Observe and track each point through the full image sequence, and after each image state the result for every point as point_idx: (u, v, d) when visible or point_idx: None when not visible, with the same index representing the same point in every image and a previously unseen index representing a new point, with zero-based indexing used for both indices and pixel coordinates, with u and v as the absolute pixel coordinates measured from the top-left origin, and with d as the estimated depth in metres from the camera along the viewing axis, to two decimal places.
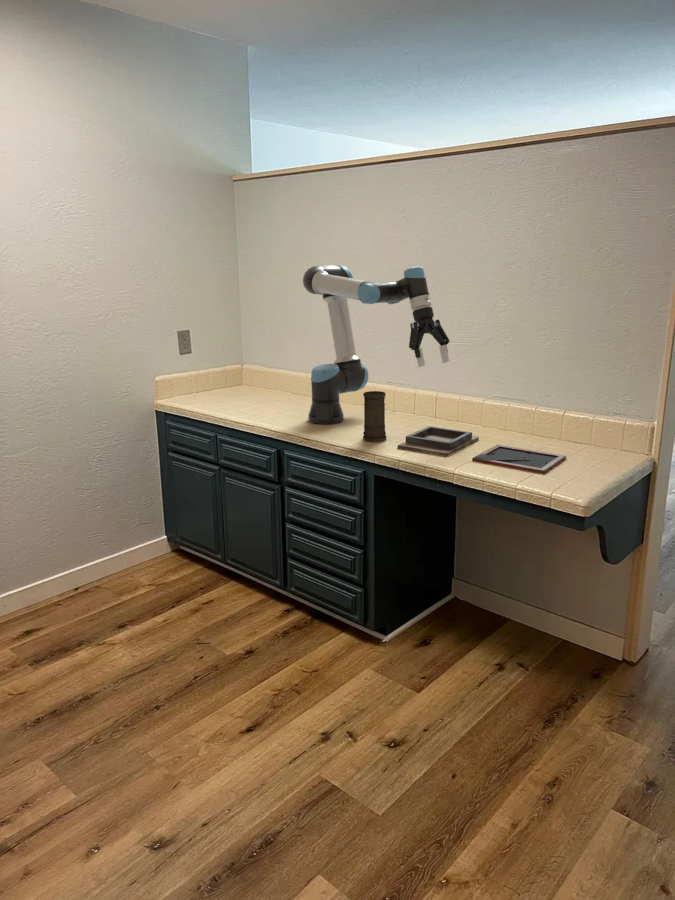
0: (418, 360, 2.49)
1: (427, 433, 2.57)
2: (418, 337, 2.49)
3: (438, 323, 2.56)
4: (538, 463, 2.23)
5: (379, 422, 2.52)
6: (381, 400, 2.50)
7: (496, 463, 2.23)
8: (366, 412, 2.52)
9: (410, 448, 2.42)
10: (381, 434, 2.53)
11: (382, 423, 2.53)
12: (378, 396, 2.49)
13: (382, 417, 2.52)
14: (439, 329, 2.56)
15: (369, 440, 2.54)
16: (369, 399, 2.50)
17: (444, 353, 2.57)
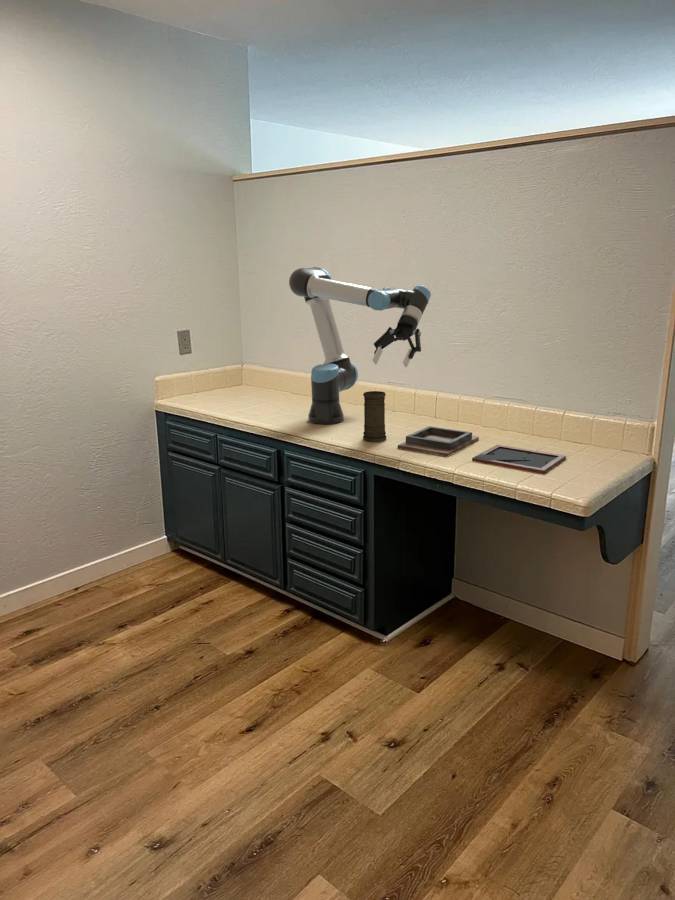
0: (407, 358, 2.54)
1: (427, 433, 2.57)
2: None
3: None
4: (538, 463, 2.23)
5: (379, 422, 2.52)
6: (381, 400, 2.50)
7: (496, 463, 2.23)
8: (366, 412, 2.52)
9: (410, 448, 2.42)
10: (381, 434, 2.53)
11: (382, 423, 2.53)
12: (378, 396, 2.49)
13: (382, 417, 2.52)
14: (388, 337, 2.67)
15: (369, 440, 2.54)
16: (369, 399, 2.50)
17: (379, 355, 2.63)
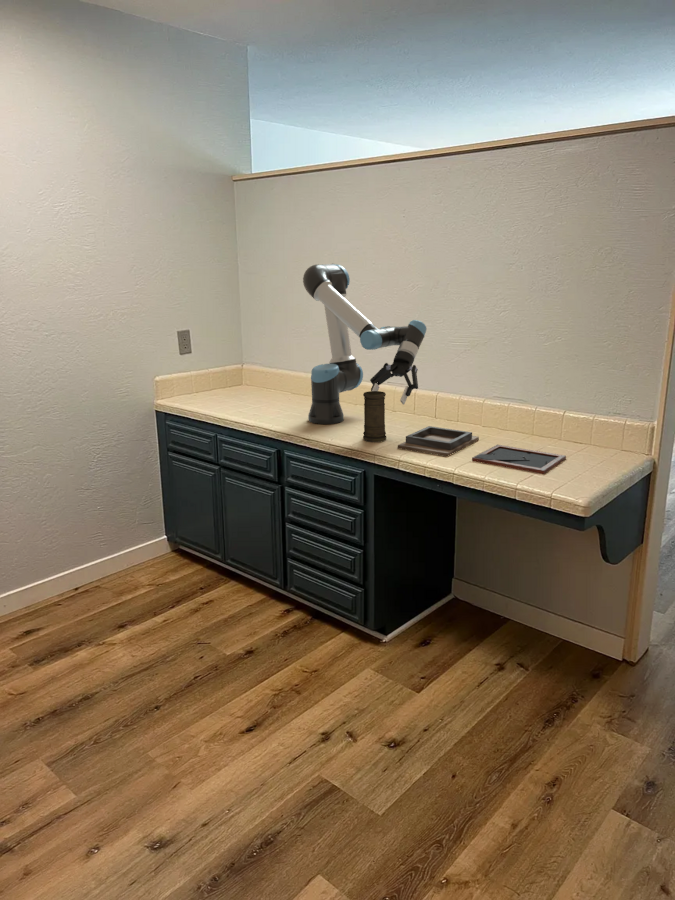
0: (404, 396, 2.53)
1: (427, 433, 2.57)
2: (409, 379, 2.58)
3: None
4: (538, 463, 2.23)
5: (379, 422, 2.52)
6: (381, 400, 2.50)
7: (496, 463, 2.23)
8: (366, 412, 2.52)
9: (410, 448, 2.42)
10: (381, 434, 2.53)
11: (382, 423, 2.53)
12: (378, 396, 2.49)
13: (382, 417, 2.52)
14: (384, 373, 2.65)
15: (369, 440, 2.54)
16: (369, 399, 2.50)
17: None
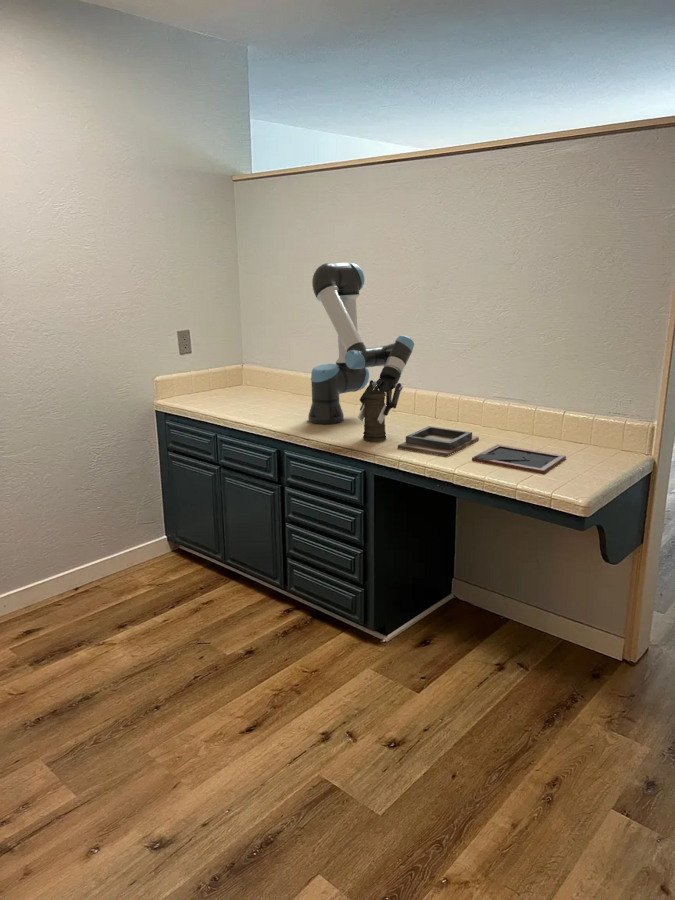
0: (382, 415, 2.50)
1: (427, 433, 2.57)
2: (390, 397, 2.54)
3: None
4: (538, 463, 2.23)
5: None
6: (381, 400, 2.50)
7: (496, 463, 2.23)
8: (366, 412, 2.52)
9: (410, 448, 2.42)
10: (381, 434, 2.53)
11: (382, 423, 2.53)
12: (378, 396, 2.49)
13: None
14: (371, 390, 2.61)
15: (369, 440, 2.54)
16: (369, 399, 2.50)
17: None
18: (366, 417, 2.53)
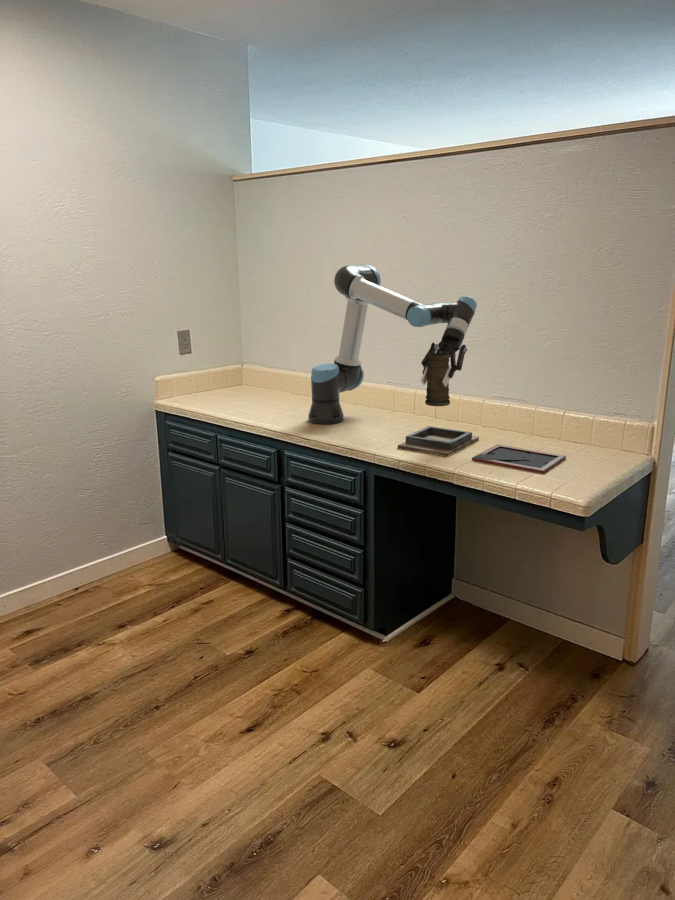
0: (446, 378, 2.38)
1: (427, 433, 2.57)
2: (454, 359, 2.42)
3: None
4: (538, 463, 2.23)
5: (443, 385, 2.40)
6: (446, 362, 2.38)
7: (496, 463, 2.23)
8: (430, 375, 2.40)
9: (410, 448, 2.42)
10: (445, 398, 2.41)
11: None
12: (443, 357, 2.37)
13: None
14: None
15: (433, 404, 2.42)
16: (433, 361, 2.38)
17: None
18: (429, 380, 2.41)
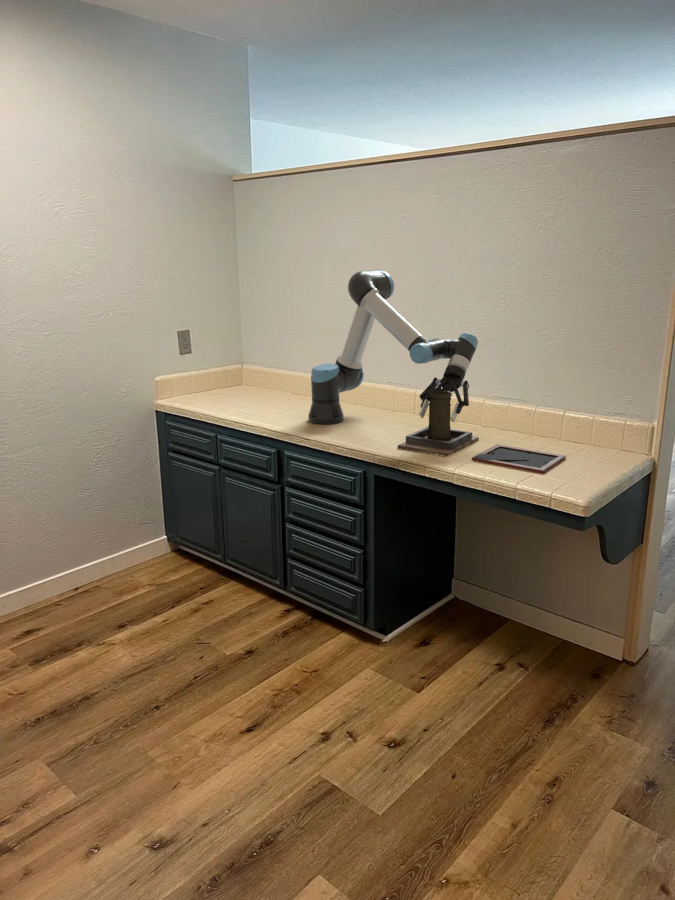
0: (454, 413, 2.41)
1: (427, 433, 2.57)
2: (459, 395, 2.46)
3: None
4: (537, 463, 2.23)
5: (445, 423, 2.44)
6: (448, 400, 2.42)
7: (495, 463, 2.24)
8: (431, 413, 2.44)
9: (410, 448, 2.42)
10: (447, 436, 2.45)
11: (448, 424, 2.45)
12: (445, 396, 2.41)
13: (448, 418, 2.44)
14: (433, 388, 2.53)
15: None
16: (435, 399, 2.42)
17: (425, 409, 2.50)
18: (431, 418, 2.45)
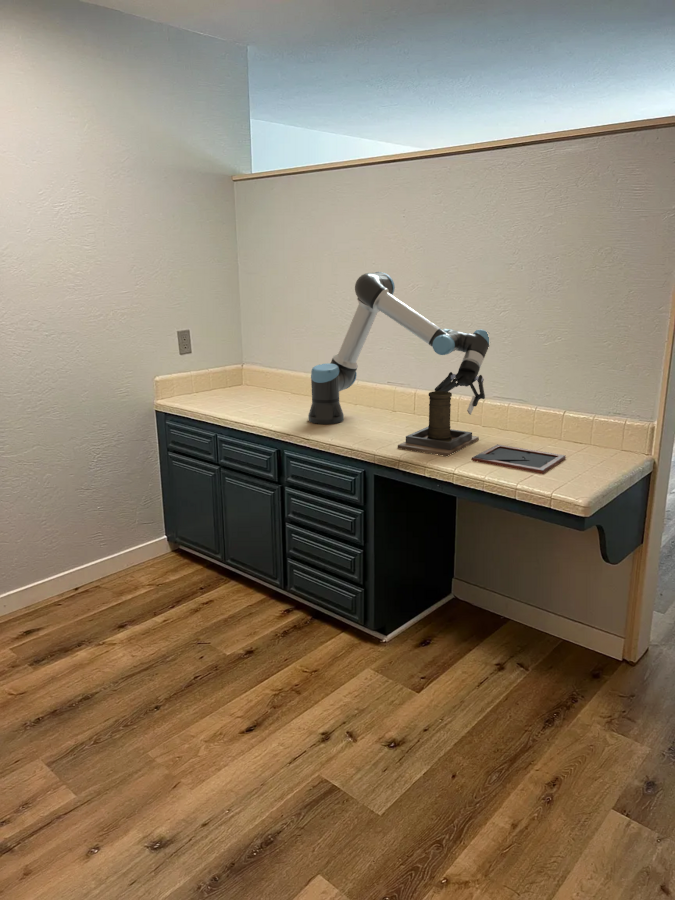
0: (471, 406, 2.51)
1: (427, 433, 2.57)
2: None
3: None
4: (537, 463, 2.23)
5: (445, 423, 2.44)
6: (448, 400, 2.42)
7: (495, 463, 2.24)
8: (431, 413, 2.44)
9: (410, 448, 2.42)
10: (447, 436, 2.45)
11: (448, 424, 2.45)
12: (445, 396, 2.41)
13: (448, 418, 2.44)
14: (448, 382, 2.63)
15: None
16: (435, 399, 2.42)
17: None
18: (431, 418, 2.45)
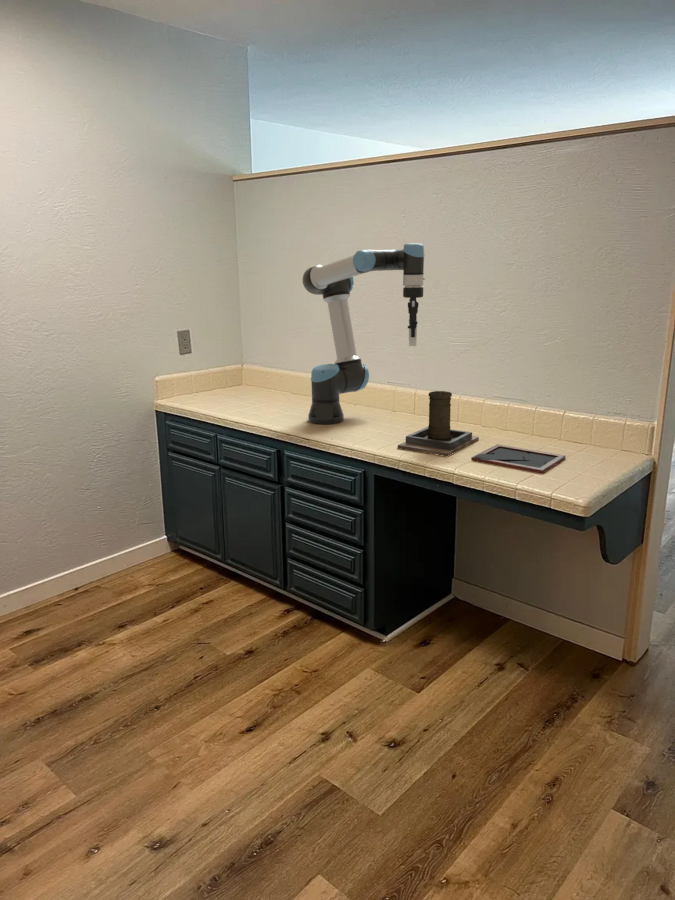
0: (411, 339, 2.51)
1: (427, 433, 2.57)
2: None
3: None
4: (537, 463, 2.23)
5: (445, 423, 2.44)
6: (448, 400, 2.42)
7: (495, 462, 2.24)
8: (431, 413, 2.44)
9: (410, 448, 2.42)
10: (447, 436, 2.45)
11: (448, 424, 2.45)
12: (445, 396, 2.41)
13: (448, 418, 2.44)
14: None
15: None
16: (435, 399, 2.42)
17: None
18: (431, 418, 2.45)
